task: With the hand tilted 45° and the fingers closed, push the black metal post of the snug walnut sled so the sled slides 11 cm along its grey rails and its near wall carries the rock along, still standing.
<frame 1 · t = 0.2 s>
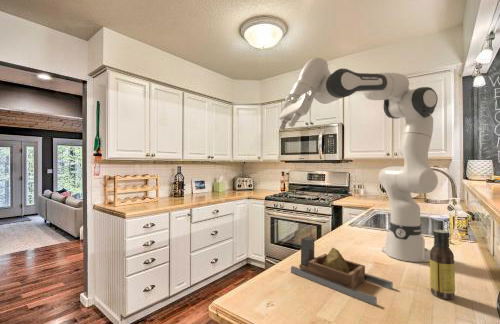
hand: (285, 127, 98), 54 cm above the countertop, tool tilted 25°, fingers open, 8 cm apart
rails: (338, 279, 90), on the countertop
sauce bottle: (441, 295, 81), on the countertop
rock: (335, 279, 91), on the countertop
sled: (328, 259, 93), point 6 cm above the countertop, slide at 0.0 cm
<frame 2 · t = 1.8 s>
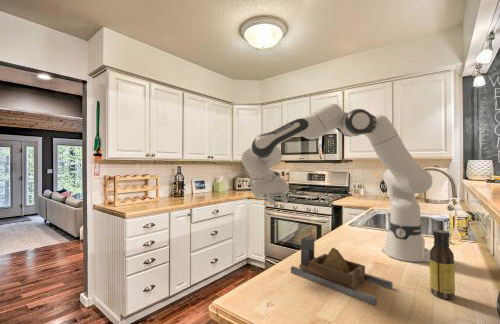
hand: (280, 202, 109), 23 cm above the countertop, tool tilted 45°, fingers open, 6 cm apart
nothing on the countertop moved.
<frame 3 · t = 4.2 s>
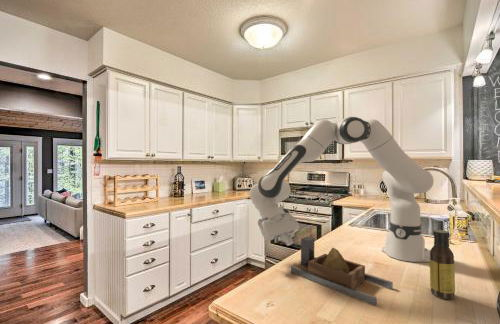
hand: (290, 244, 105), 7 cm above the countertop, tool tilted 45°, fingers closed
nothing on the countertop moved.
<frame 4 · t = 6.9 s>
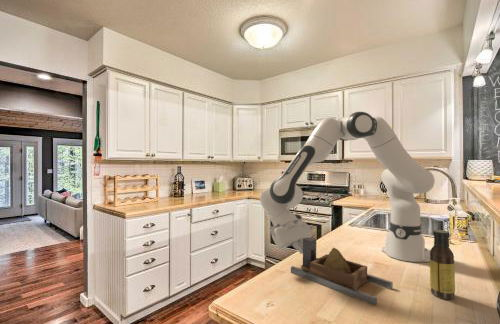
hand: (304, 252, 101), 6 cm above the countertop, tool tilted 45°, fingers closed, pressing on sled
rock: (336, 279, 91), on the countertop, touching sled
sled: (330, 260, 93), point 6 cm above the countertop, slide at 0.8 cm, touching rock, gripper
everything else where it was.
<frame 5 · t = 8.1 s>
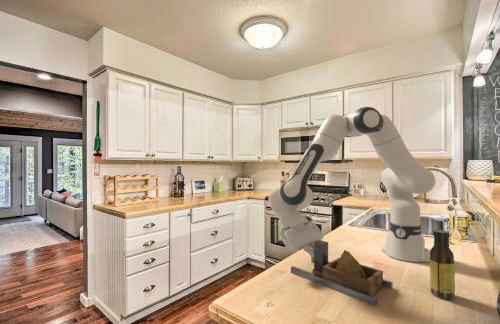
hand: (315, 255, 97), 6 cm above the countertop, tool tilted 45°, fingers closed, pressing on sled
rock: (350, 283, 88), on the countertop, touching sled
sled: (343, 264, 89), point 6 cm above the countertop, slide at 5.8 cm, touching rock, gripper
everything else where it was.
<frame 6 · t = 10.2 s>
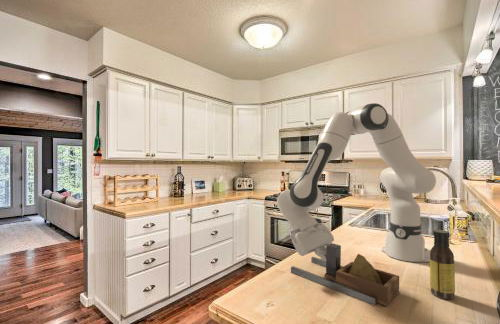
hand: (327, 259, 94), 6 cm above the countertop, tool tilted 45°, fingers closed, pressing on sled
rock: (365, 288, 85), on the countertop
sled: (357, 268, 85), point 6 cm above the countertop, slide at 10.7 cm, touching gripper
everything else where it was.
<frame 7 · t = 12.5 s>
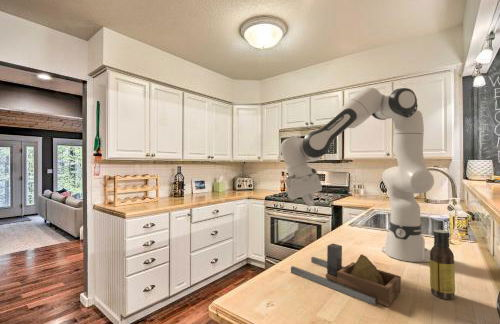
hand: (311, 205, 106), 23 cm above the countertop, tool tilted 20°, fingers closed
sled: (359, 269, 85), point 6 cm above the countertop, slide at 11.1 cm
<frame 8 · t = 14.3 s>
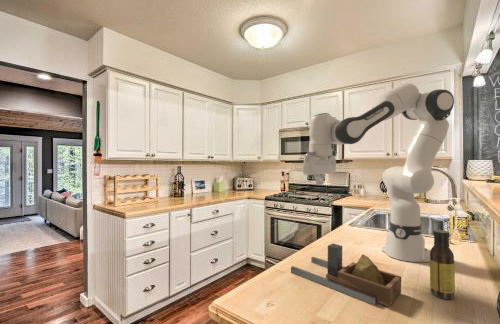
hand: (319, 185, 109), 31 cm above the countertop, tool pointing down, fingers closed
rock: (368, 288, 85), on the countertop, touching sled
sled: (359, 269, 85), point 6 cm above the countertop, slide at 11.3 cm, touching rock
everything else where it was.
at the end: sled slide at 11.2 cm; rock inside the target area (1.6 cm from its centre), on the countertop; rock tilted 0° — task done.
